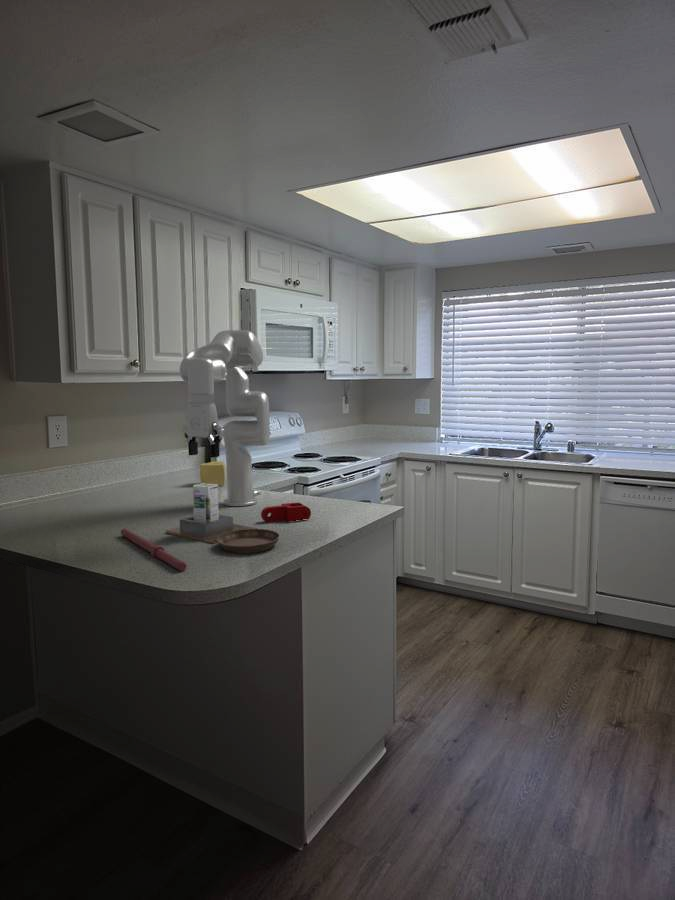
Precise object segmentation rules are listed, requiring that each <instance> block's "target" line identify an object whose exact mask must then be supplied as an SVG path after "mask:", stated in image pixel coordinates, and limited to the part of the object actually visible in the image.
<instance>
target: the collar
mask: <svg viewBox="0 0 675 900" xmlns="http://www.w3.org/2000/svg"><path fill="white" fill-rule="evenodd" d="M244 529H259V528H258V527H253V526H248V525H247V526H246V525H242V524H237V523H234V516H231V515H224V514H219V519H218V520H214V521H210V522H207V523H203V522H198V521H194V515H192V516H186V517H185V518H184V517H183V518H179V527H175V528H171V529H167V530H165V534H168V535H174V536H178V537H181V538H187V539H191V540H195V541H200V542H205V543H209V544H217V543H218V541H217V538H218V537H219V536H220V535H222V534H225V533H228V532H232V531H237V530H244ZM218 544H219V543H218Z"/></svg>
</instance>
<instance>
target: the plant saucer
mask: <svg viewBox="0 0 675 900" xmlns="http://www.w3.org/2000/svg"><path fill="white" fill-rule="evenodd" d="M280 537H281V536H280V533H279V532H277V531H274V530H271V529H264V528H258V529H244V530H237V531H232V532H228V533H225V534H222V535H220V536H219V537H218V538H217V541H218V544H219V545H220V547H222V548H223V550H225V551H226V552H230V553H235V552H236V554H249V553H251V554H252V553H253V552H254V553H260V552H264V550H265V551H268V550H270V549H272V548H273V547H274V546H275V545H276V544H277V542H278V541H279V539H280ZM267 549H268V550H267ZM259 551H260V552H259Z"/></svg>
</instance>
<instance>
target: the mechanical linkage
mask: <svg viewBox="0 0 675 900" xmlns="http://www.w3.org/2000/svg"><path fill="white" fill-rule="evenodd" d="M269 514H270V515H269ZM311 515H312V510H311V508H310V507H308V506H307V505H304V504H303V503H301V502H299V501H298V502H288V503H286V502H285V503H281V504H280V505H274V506H266V507H264V508H263V509H262V511H261V513H260V517H261V519H262V520H263V521H264V522H266V523H268V524H269V523H277V522H278V523H279V522H284V521H285V522H288V523H292V522H291V521H294V522H297V521H296V520H303V519H308V520H309V519H310V518H311ZM303 521H304V520H303Z"/></svg>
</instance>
